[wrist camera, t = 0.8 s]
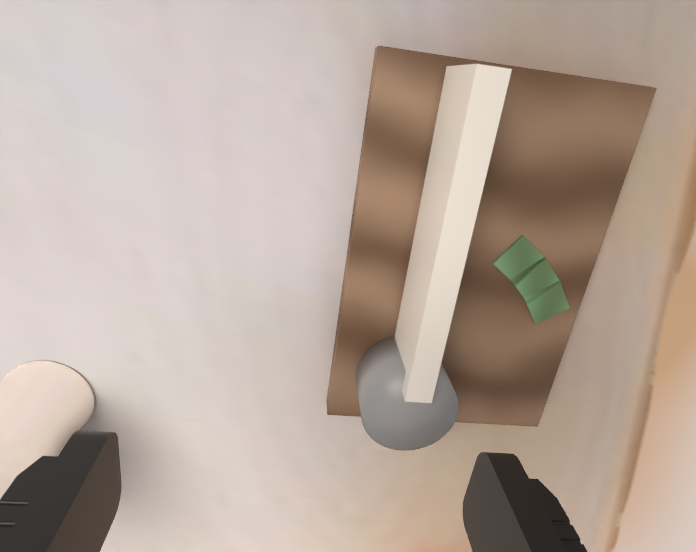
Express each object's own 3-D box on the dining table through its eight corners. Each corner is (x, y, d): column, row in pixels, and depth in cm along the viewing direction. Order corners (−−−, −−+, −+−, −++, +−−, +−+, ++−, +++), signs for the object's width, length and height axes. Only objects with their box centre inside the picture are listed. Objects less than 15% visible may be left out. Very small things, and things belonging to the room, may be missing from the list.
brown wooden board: (375, 47, 26) (379, 45, 25) (639, 87, 28) (659, 87, 27) (326, 401, 35) (327, 416, 34) (529, 413, 37) (538, 428, 36)
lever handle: (432, 412, 34) (451, 464, 29) (350, 407, 33) (356, 459, 29) (514, 76, 26) (558, 76, 21) (406, 60, 25) (428, 56, 20)
